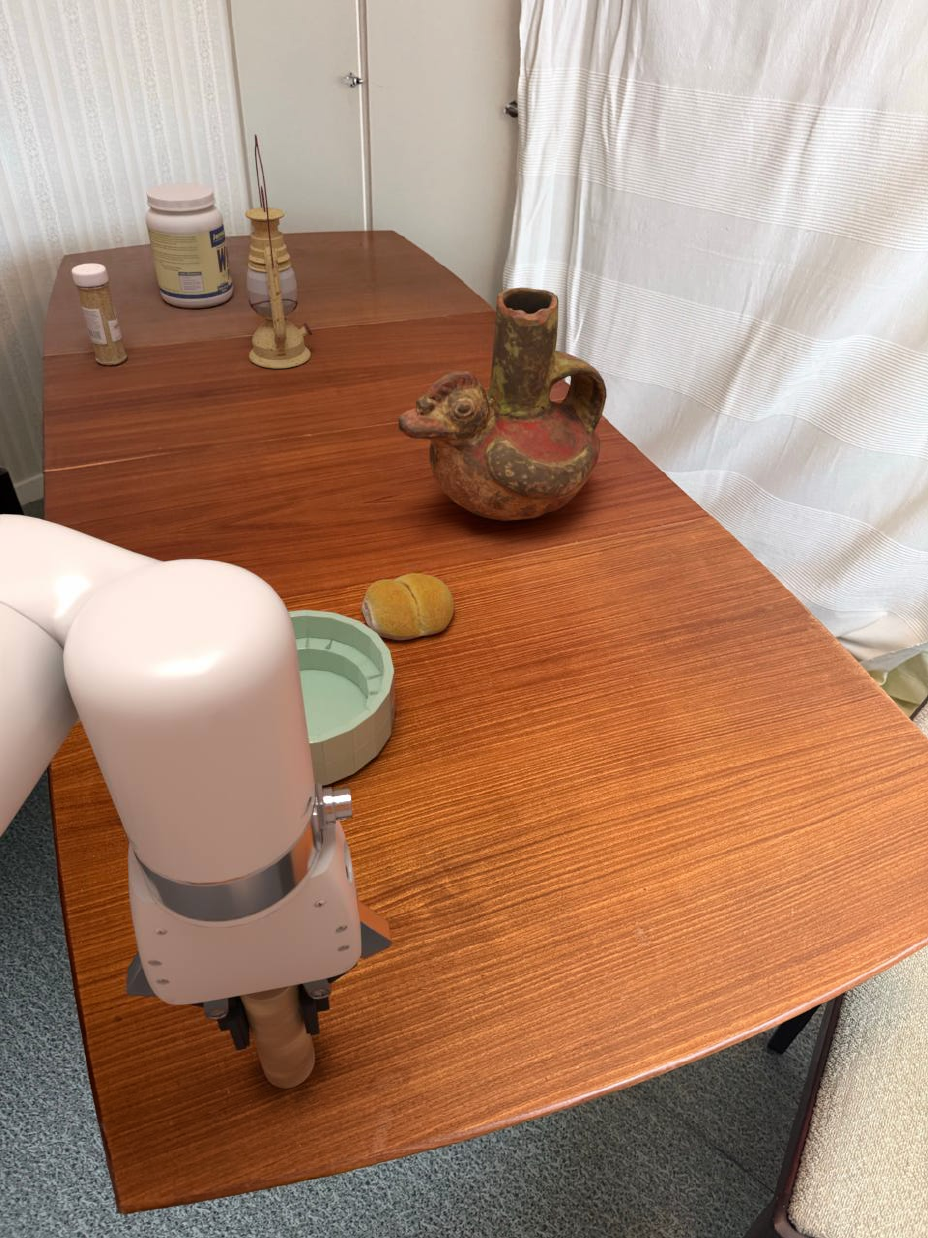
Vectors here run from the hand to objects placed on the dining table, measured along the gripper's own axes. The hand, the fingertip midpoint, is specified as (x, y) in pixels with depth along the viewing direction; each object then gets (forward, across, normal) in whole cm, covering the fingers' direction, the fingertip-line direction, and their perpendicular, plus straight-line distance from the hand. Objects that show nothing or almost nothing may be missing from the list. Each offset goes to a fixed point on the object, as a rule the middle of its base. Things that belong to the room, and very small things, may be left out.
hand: (277, 1014), depth 47 cm
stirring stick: (+7, 0, 0) cm, 7 cm away
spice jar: (+7, +20, -105) cm, 107 cm away
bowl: (+7, -3, -28) cm, 29 cm away
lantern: (+7, -5, -103) cm, 103 cm away
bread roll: (+7, -14, -40) cm, 43 cm away
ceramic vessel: (+7, -28, -57) cm, 64 cm away
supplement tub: (+7, +8, -129) cm, 129 cm away
